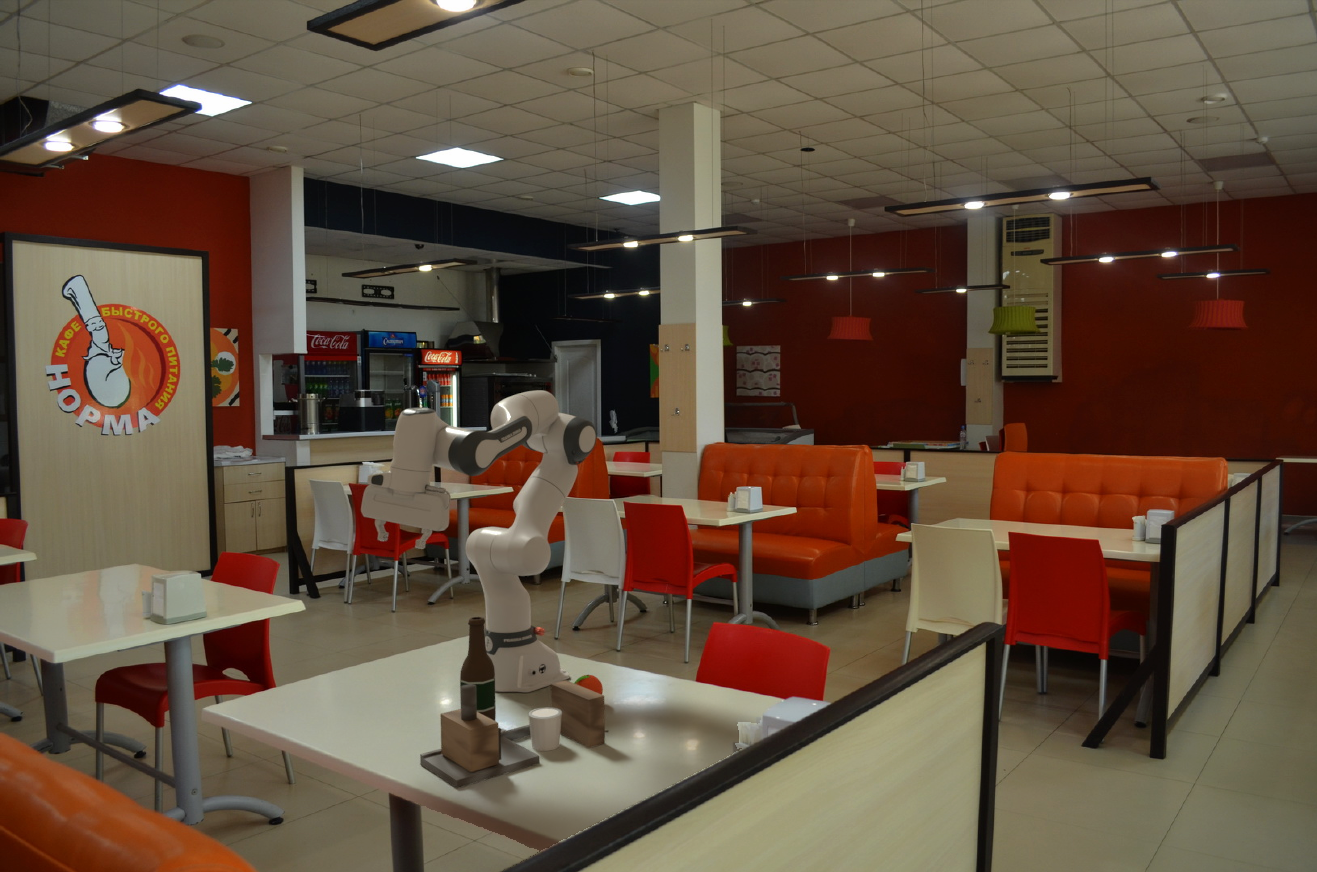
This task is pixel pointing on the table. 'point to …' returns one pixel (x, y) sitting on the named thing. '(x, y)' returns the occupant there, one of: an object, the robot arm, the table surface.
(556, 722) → the white cup
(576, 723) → the frame
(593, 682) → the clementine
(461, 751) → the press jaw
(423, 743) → the table surface
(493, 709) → the beer bottle
